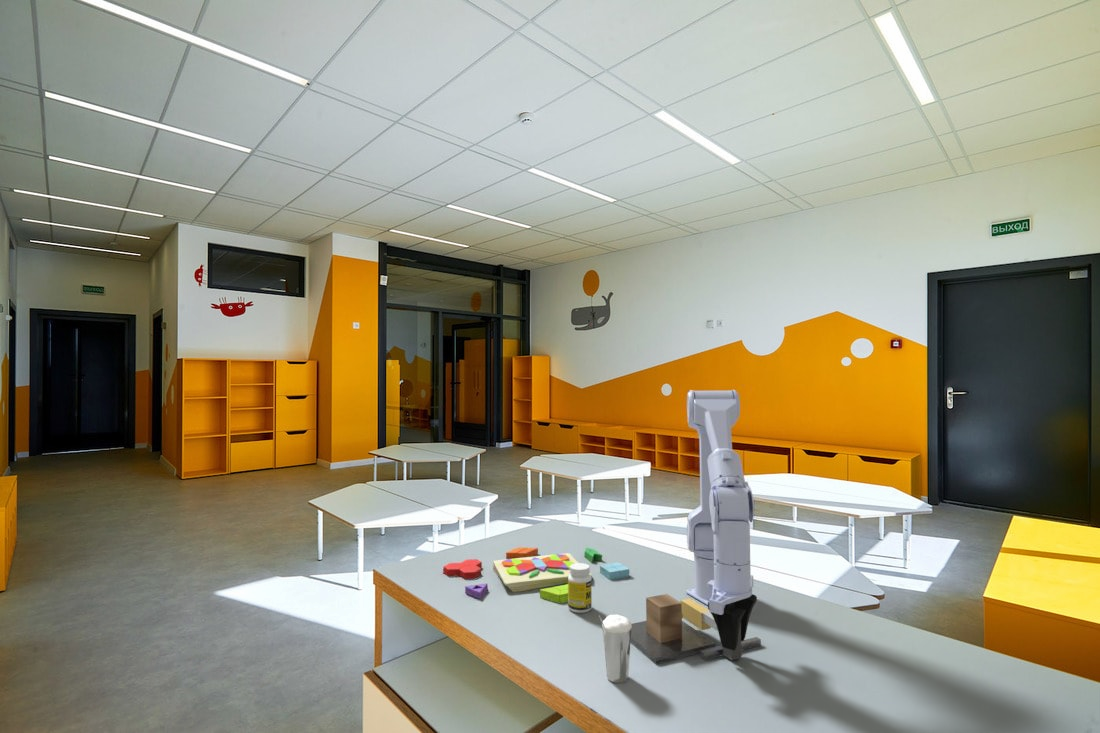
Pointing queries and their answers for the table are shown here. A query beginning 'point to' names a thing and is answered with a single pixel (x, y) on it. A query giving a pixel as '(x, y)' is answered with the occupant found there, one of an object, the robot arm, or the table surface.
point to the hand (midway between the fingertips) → (733, 643)
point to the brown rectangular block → (664, 618)
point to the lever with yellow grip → (707, 623)
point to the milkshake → (617, 647)
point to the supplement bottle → (579, 588)
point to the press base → (680, 644)
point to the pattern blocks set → (532, 572)
